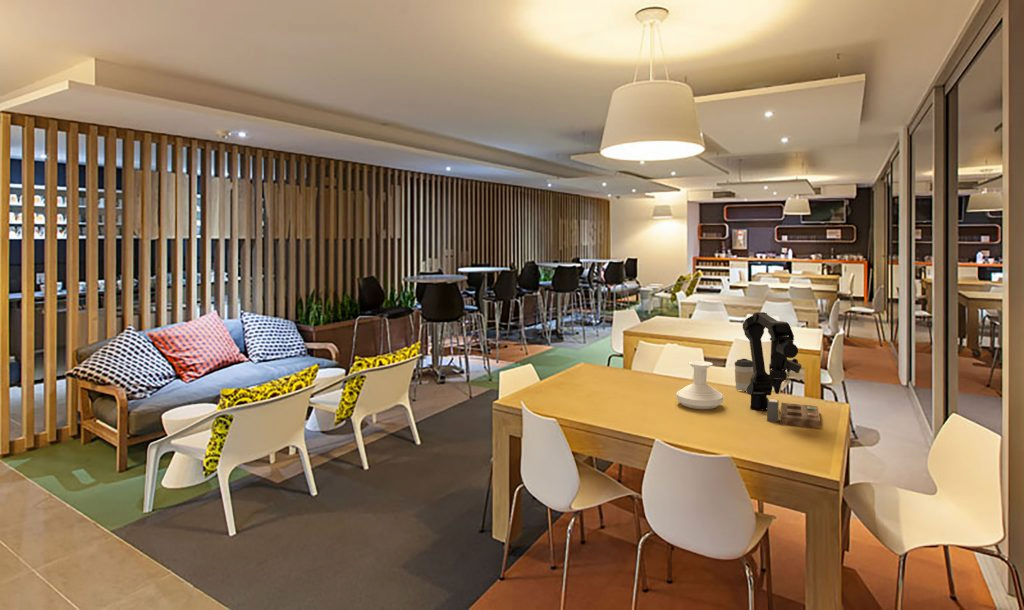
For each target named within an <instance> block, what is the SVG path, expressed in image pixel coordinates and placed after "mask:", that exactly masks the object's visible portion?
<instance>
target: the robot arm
mask: <svg viewBox="0 0 1024 610" xmlns="http://www.w3.org/2000/svg"><path fill="white" fill-rule="evenodd" d="M765 329H767V333H768V334H769V336H770V338H769V341H770V361H769V364H768V366H769V367H768V368H769V370H768V371H769V373H768V372H767V371H766V367H765V359H764V353H763V352H764V351H763V345H762V344H763V343H762V338H763V335H764V333H765ZM742 330H743V332H744V336H745V337H746V339H748V340H749V346H750V347H749V348H750V356H751V361H752V364H753V375H752V377H751V379H750V380H751V382H750V384H749V386H748V387H747V392H746V393H747V395H749V396H750V406H749V409H750V410H757V411H766V412H767V407H768V399H769V397H768V396H772V393H773V392H772V391H773V389H774V393H775V394H776V395H779V394H780V390H781V387H782V384H783V382H785V381H786V380H788V372H787V370H790V371H791V372H794V373H795V374H799V373H800V371H801V369H802V367H803V365H802V364H801V363H799V359H797V358H795V357H796V356H797V355H798V354H799V349H798V346H797V345H796V344H794V340H795V336H794V333H793V330H792V327H791V326H790V323H788V322H787V321H783V320H781V321H779V320H777V319H775V318H773V317H772V316H770V315H769V314H768V313H767V312H764V311H763V312H762V311H761V312H757V311H756V312H754V313H753V314H752V315H751V316H748V317H747V318H745V320H744V321H743V323H742Z"/></svg>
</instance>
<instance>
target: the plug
mask: <svg viewBox="0 0 1024 610" xmlns="http://www.w3.org/2000/svg"><path fill="white" fill-rule="evenodd" d="M779 402H780V401H779V400H778V399H774V398H773V399H770V398H768V407H767V408H766V422H770V421H771V423H778V422H779V404H780V403H779Z"/></svg>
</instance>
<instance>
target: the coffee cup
mask: <svg viewBox="0 0 1024 610" xmlns="http://www.w3.org/2000/svg"><path fill="white" fill-rule="evenodd" d="M752 375H753V364H752V359H751V360H750V359H748V358H741V359H737V360H736V361H735V362H734V382H735V390H736V389H737V390H742V391H747V387H748V386H749V384H750V382H751V380H750V379H751V377H752ZM737 390H736V391H737Z"/></svg>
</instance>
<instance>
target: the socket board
mask: <svg viewBox="0 0 1024 610" xmlns="http://www.w3.org/2000/svg"><path fill="white" fill-rule="evenodd" d="M780 425H787V426H794V427H795V426H797V427H803V428H805V427H806V428H813V429H821V418H820V411H819V406H817V405H810V404H809V405H808V404H802V403H801V404H799V403H790V402H781V403H780Z"/></svg>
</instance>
